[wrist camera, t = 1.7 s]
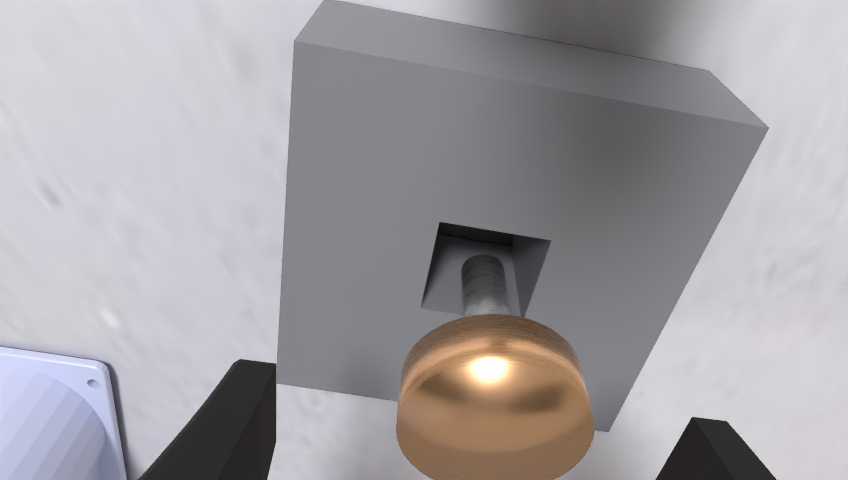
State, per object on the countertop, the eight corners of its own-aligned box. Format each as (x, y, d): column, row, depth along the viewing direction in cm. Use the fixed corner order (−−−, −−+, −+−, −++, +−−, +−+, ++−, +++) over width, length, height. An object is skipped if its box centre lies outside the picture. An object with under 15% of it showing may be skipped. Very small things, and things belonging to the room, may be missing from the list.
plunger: (533, 334, 18) (560, 503, 14) (401, 314, 18) (383, 479, 13) (574, 223, 16) (623, 380, 12) (424, 198, 16) (413, 348, 11)
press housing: (586, 347, 24) (608, 432, 20) (301, 302, 23) (276, 383, 20) (709, 70, 17) (769, 127, 14) (324, -2, 17) (294, 40, 13)
